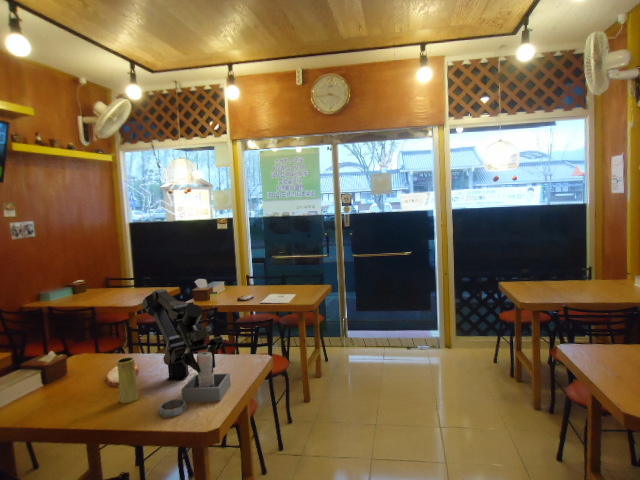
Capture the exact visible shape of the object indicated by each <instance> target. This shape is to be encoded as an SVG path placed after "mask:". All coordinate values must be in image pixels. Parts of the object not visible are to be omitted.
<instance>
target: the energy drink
mask: <svg viewBox="0 0 640 480" xmlns="http://www.w3.org/2000/svg"><path fill="white" fill-rule="evenodd" d="M196 362H197V364H198V366H199V368H200V373H198V372H197V374H198V383H199V388H208V387H214V374H215V373H214V368H213V358H212V354H211V352H207V351H200V352H198V353H197V354H196Z"/></svg>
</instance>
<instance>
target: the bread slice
mask: <svg viewBox="0 0 640 480" xmlns="http://www.w3.org/2000/svg"><path fill="white" fill-rule="evenodd" d="M134 366H135V374H136V377H137V376H138V374H139V371H140V366H139V364H138V363H137V362H134ZM107 383H108V384H109V385H108V384H107ZM106 384H107V385H108V386H110V385H111V386H110V387H113V386H119V375H118V365H117V366H114V367H113V368H111V369H110V370H109V371H108V373H107V374H106Z"/></svg>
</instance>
